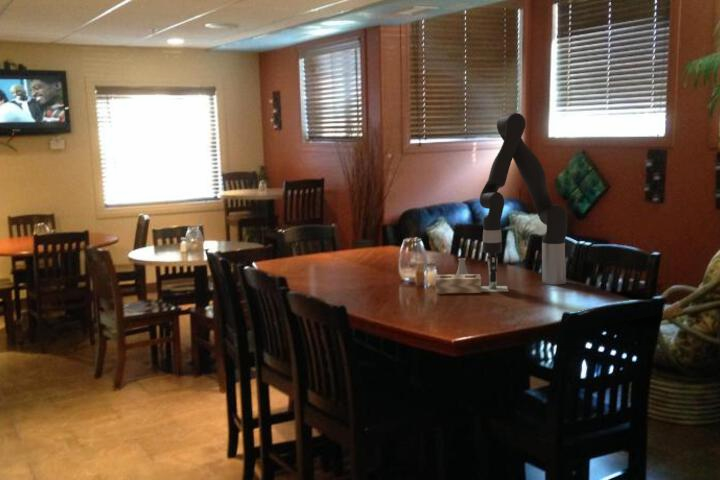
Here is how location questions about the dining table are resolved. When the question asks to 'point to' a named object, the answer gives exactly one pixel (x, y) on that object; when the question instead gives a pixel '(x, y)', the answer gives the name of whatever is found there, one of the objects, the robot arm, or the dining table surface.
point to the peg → (491, 284)
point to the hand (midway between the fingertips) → (492, 279)
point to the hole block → (458, 283)
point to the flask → (462, 266)
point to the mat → (499, 288)
